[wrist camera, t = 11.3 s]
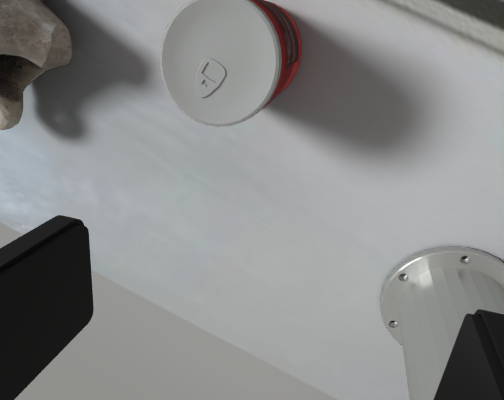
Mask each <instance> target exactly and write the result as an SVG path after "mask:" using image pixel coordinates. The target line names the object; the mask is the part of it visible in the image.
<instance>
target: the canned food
mask: <svg viewBox="0 0 504 400" xmlns="http://www.w3.org/2000/svg"><path fill="white" fill-rule="evenodd" d="M300 58H301V39H300V35H299V31H298V29H297V27H296V24H295V22H294V21H293V19H292V18H291V17H290V15H289V14H288V13H287V12H286V11H285V10H284V9H282V8H281V7H279V6H277V5H276V4H274V3H271V2H268V1H264V0H191V1H190V2H188V3H187V4H185V5H184V6H182V7H181V9H180V10H179V11H178V12H177V13H176V14H175V15H174V16H173V18H172V19H171V21H170V23H169V24H168V26H167V28H166V31H165V33H164V36H163V38H162V44H161V49H160V68H161V75H162V79H163V82H164V85H165V88H166V90H167V92H168V94H169V95H170V97H171V99H172V100H173V102H174V103H175V104H176V105H177V107H178V108H179V109H180V110H181V111H182V112H184V113H185V114H186V115H187V116H189V117H190V118H192V119H194V120H195V121H197V122H200V123H203V124H206V125H210V126H218V127H220V126H230V125H234V124H237V123H241V122H243V121H245V120H247V119H249V118H251V117H253V116H254V115H255V114H257V113H258V112H259V111H260V110H262V109H263V108H264V107H265V106H266V105H267V104H269V103H270V102H271V101H272V100H273V99H274V98H275V97H276V96H277V95H278V94H279V93H280V92H281V91H283V90H284V89H285V88H286V87H287V85H288V84H289V83H290V82H291V81H292V79H293V77H294V75H295V74H296V72H297V69H298V66H299V63H300Z"/></svg>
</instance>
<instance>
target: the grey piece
mask: <svg viewBox="0 0 504 400" xmlns="http://www.w3.org/2000/svg"><path fill="white" fill-rule="evenodd" d="M72 53H73V50H72V40H71V36H70V33H69V30H68V28H67V27H66V26H65V25H64V24H63V22H62V21H61V20H60V19H59V18H58V17H57V16H56V15H55V14H54V13H53V12H52V11H51V10H50V9H49V8H48V7H47V6H46V5H45V4H44V3H43V2H42V1H40V0H0V130H6V129H10V128H12V127H13V126H15V125H16V124H18V123H19V121H20V119H21V116H22V112H23V91H24V90H25V88H26V86H28V85H29V84H30V83H31V82H32V81H33V80H35V79H36V78H37V77H38V76H40V75H41V74H43V73H44V72H45V71H47V70H48V69H53V68H56V67H60V66H65V65H68V64H69V63H70V62H71V58H72Z"/></svg>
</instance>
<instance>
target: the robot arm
mask: <svg viewBox="0 0 504 400" xmlns="http://www.w3.org/2000/svg"><path fill="white" fill-rule="evenodd" d="M463 256H465V257H463ZM380 299H381V313H382V318H383V321H384V324H385V326H386V328H387V329H388V331H389V332H390V334H391V335H392V337H393V338H394V339H395V340H397V341H398V342H399V343H400V344H401V345H402V346H403V353H404V360H405V368H406V375H407V383H408V390H409V398H410V400H504V263H503V262H502V261H500V260H499V259H498V258H496V257H494V256H492V255H490V254H487V253H485V252H483V251H479V250H475V249H472V248H466V247H456V246H452V247H439V248H434V249H429V250H425V251H423V252H420V253H418V254H415V255H413V256H411V257H410V258H408V259H406V260H405V261H403V262H402V263H401V264H399V265H398V266H397V267H396V268H395V269H394V270H393V271H392V272H391V274H390V275H389V276H388V278H387V279H386V282H385V284H384V286H383V288H382V293H381V298H380ZM92 315H93V294H92V279H91V263H90V247H89V232H88V229H87V227H85V226H84V224H83V222H82V221H81V220H80V219H75V218H71V217H66V216H61V215H58V216H56V217H54V218H52V219H50V220H49V221H47V222H45V223H44V224H42V225H40V226H38V227H37V228H35V229H33V230H31V231H30V232H28V233H26V234H25V235H23V236H21V237H19V238H18V239H16V240H14V241H12V242H11V243H9V244H7V245H6V246H4V247H2V248H1V249H0V400H14V399H15V398H16V397H17V396H18V395H19V394H20V393H21V392H22V391H23V390H24V389H25V388H26V387H27V386H28V385H29V384H30V382H32V381H33V380H34V379H35V377H36V376H37V375H38V374H39V373H40V372H41V371H42V370H43V369H44V368H45V367H46V366H47V365H48V364H49V363H50V362H51V361H52V360H53V359H54V358H55V357H56V356H57V355H58V354H59V353H60V352H61V351H62V350H63V349H64V347H66V345H67V344H68V343H69V342H70V341H71V340H72V339H73V338H74V337H75V336H76V335H77V334H78V333H79V332H80V331H81V330H82V329H83V328H84V327H85V326H86V325H87V324H88V323H89V321H90V320H91V318H92Z"/></svg>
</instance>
